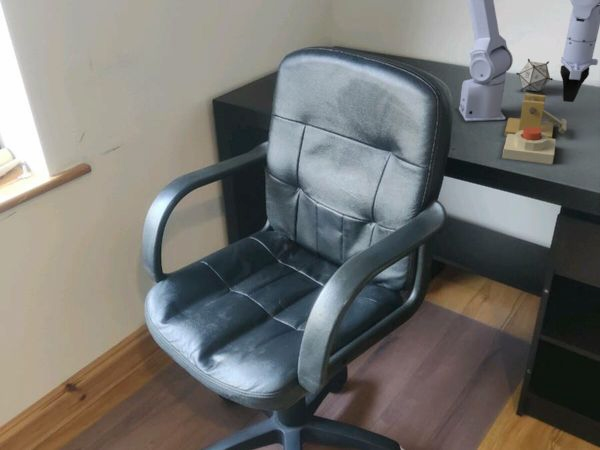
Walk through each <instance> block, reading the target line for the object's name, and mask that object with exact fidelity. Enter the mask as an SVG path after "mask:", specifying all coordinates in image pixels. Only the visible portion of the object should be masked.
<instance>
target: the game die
mask: <svg viewBox="0 0 600 450" xmlns="http://www.w3.org/2000/svg"><path fill="white" fill-rule="evenodd" d="M548 64H550V60H548V61H546V63H543V62H537V61H531V59H530V58H527V63H526V64H525V66H524V67H523V68H522V70H521V71H520V72H515V75H517V76H518V77H519V80H520V85H521V88H520V89H519V92H523V91H524V90H525V91H526V90H527V91H533V92H538V93H539V94H538V95H542V90H543V88H544V87H545V86H546V85H547V84H548V83H549V81H553V80H554V78H553V77H550V76H551V75H550V73H549V67H548Z"/></svg>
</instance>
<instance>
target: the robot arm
mask: <svg viewBox="0 0 600 450" xmlns="http://www.w3.org/2000/svg"><path fill="white" fill-rule="evenodd" d="M570 3H571V5H572V10H571V14H570V19H569V24H568V29H567V33H566V37H565V38H566V39H565V44H564V49H563V54H562V56H561V58H560V59H561V60H560V63H561V64H562V65H561V66H560V77H561V79H562V101H563V102H568V103H574V102H575V100H576V98H577V95H578V93H579V91H580V88H581V87H582V85H583V83H584V82H585V81H586V80H587V79H588V77H589V76H590V66H597V65H598V63H599V60H598V59H597V58H593V57H594V53H595V48H596V44H597V39H598V35H599V30H600V0H570ZM467 6H468V10H469V16H470V21H471V27H472V31H473V32H472V33H473V37H474V42H473V44H472V47H471V50H470V52H469V55H470V63H469V67H468V68H469V74H470V76H471V78H470V79H466V80H463V82H462V83H461V84H462V85H461V90H460V102H459V107H458V111H459V112H460V114H461V115H462V117H463V119H464V121H465V122H486V121H487V122H488V121H505V120H506V119H507V117H506V116H505V115H504V114H503V112H502V105H503V99H504V98H503V97H504V91H505V85H506V84H505V83H506V76H507V75H506V74H507V72H508V71H509V70H510V69H511V67H512V66H513V61H514V58H513V54H512V52H511V50H509V48H508V45H507V41H506V40H505V38H503V36H501V34H500V31H499V30H500V29H499V25H498V19H497V13H496V8H495V1H494V0H467Z"/></svg>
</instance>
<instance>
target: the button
mask: <svg viewBox="0 0 600 450" xmlns="http://www.w3.org/2000/svg"><path fill="white" fill-rule="evenodd" d="M541 132H542V131H541V129H539V128H536V127H526V128H524V129H523V135H522V138H524V139H526V140H532V141H535V140H540V137H541Z"/></svg>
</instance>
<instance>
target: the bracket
mask: <svg viewBox="0 0 600 450" xmlns="http://www.w3.org/2000/svg"><path fill="white" fill-rule="evenodd" d="M531 97H533V98H535V99H536V100H538V101H530V98H531ZM546 97H547V96H546V95H545V94H541V95H540V94H534V93H524V97H523V101H522V107H521V111H520V112H521V113H520V118H518V117H517V118H515V117H508V119H507V121H506V122H507V123H506V127H505V130H504V135H503V136H505V137H507V134H514V135H515V134H516V133H517V132H519V131H521V130H523V129H524V128H526V127H536V128H539V129H541V131H542V133H545V134H546V135H547V136H548V138H549V139H553V132H554V125H555V124H554V123H552V122H551V121H544V120H542V119H543V116H542V114H543V109H544V108H545V102H546ZM544 110H545V109H544Z"/></svg>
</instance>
